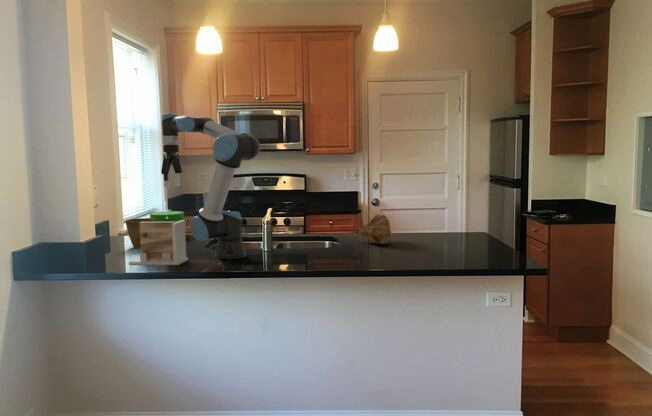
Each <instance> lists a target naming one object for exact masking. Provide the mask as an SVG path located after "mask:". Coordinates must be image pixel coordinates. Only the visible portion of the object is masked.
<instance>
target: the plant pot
mask: <svg viewBox="0 0 652 416" xmlns="http://www.w3.org/2000/svg"><path fill="white" fill-rule="evenodd" d="M140 222H154V219H152V218H150V217H146V218H131V219H126V220H125V226H126V229H127V230H126V231H127V234H128V237H129V240H130V242H131V245H132V247H133V249H141V243H140Z"/></svg>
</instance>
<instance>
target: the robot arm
mask: <svg viewBox="0 0 652 416" xmlns="http://www.w3.org/2000/svg"><path fill="white" fill-rule="evenodd" d="M161 130H162V131H161V132H162V147H163V148H162V149H163V158H162V166H161V170H160V171H161V175H163V187H164V188H171V181H170V180H171V179H170V169H171V166H172V169H173V170H174V187H178V186H179V187H180V186H181V174H182V172H183V170H182V166H181V161H180V156H179V151H180V150H179V148H180V147H179V145H178V144H179V133H200V134H201V133H202V134H204V135H206V136H209V137H211V138H213V139H215V140H214V142H213V144H212V151H213V152H212V155H213V157H214V161H215V163H216V166H215V169H214V173H213V176H212V180H211V182H210V186H209V189H208V190H209V192H208V195H207V199H206V202H205V204H203V207H201V208H200V209H199V211H198V214H197V215H195V216H194V217H192V218H191V219H190V223H189V226H190V228H189V229H190V231H191V233H192V235H193V237H194V238H195V239H196V240H198V241H207V240H213V239H215V238H218V239H217V245H216V250H215V253H214V257H215V258H216V259H220V260H236V259H242V258H245V257H246V256H247V255H246V252H247V251H246V250H245V247H244V244H243V240H242V215H241V213H240V212H239V211H229V210H224V206H225V202H226V199H227V197H228V194H229V190H230V187H231V184H232V180H233V178H234V174H235V172H236V170H237V169H240V167H241V164H242V161H250V160H253V159H255V158H256V157H257V156H258V155H259V153H260V151H261V145H260V141H259V140H258V139H257V138H256V137H255V136H253V135H252V134H249V133H247V132H243V133H241V132H239V131H236V130H233V129H232V128H229V127H226V126H224V125H222V124H220V123H217V122H216V121H214V119H213V118H212V117H210V118H209V117H197V116H196V117H195V116H189V115H181V116H178V114H177V113H173V112H171V113H169V112H167V113H163V114H162V115H161ZM164 153H165V154H164Z"/></svg>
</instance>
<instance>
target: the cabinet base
mask: <svg viewBox="0 0 652 416" xmlns="http://www.w3.org/2000/svg"><path fill="white" fill-rule="evenodd" d="M185 232H186V221H185V219H184V220H182V221H179V222H176V223H173V224H172V236H173V260H171V252H164V253H162V255H163V260H149V255H148V252H141V251H140V252H139V257H137V258H135V259H133V260H130V261H129V262H128V264H129V265H138V266H139V265H141V266H142V265H144V266H145V265H146V266H147V265H150V266H151V265H152V266H153V265H158V266H171V265H172V266H180V265H181V264H183V263H185V262H187V261H188V260H189V257H187V239H186V238H187V237H186V236H187V235H185Z"/></svg>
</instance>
